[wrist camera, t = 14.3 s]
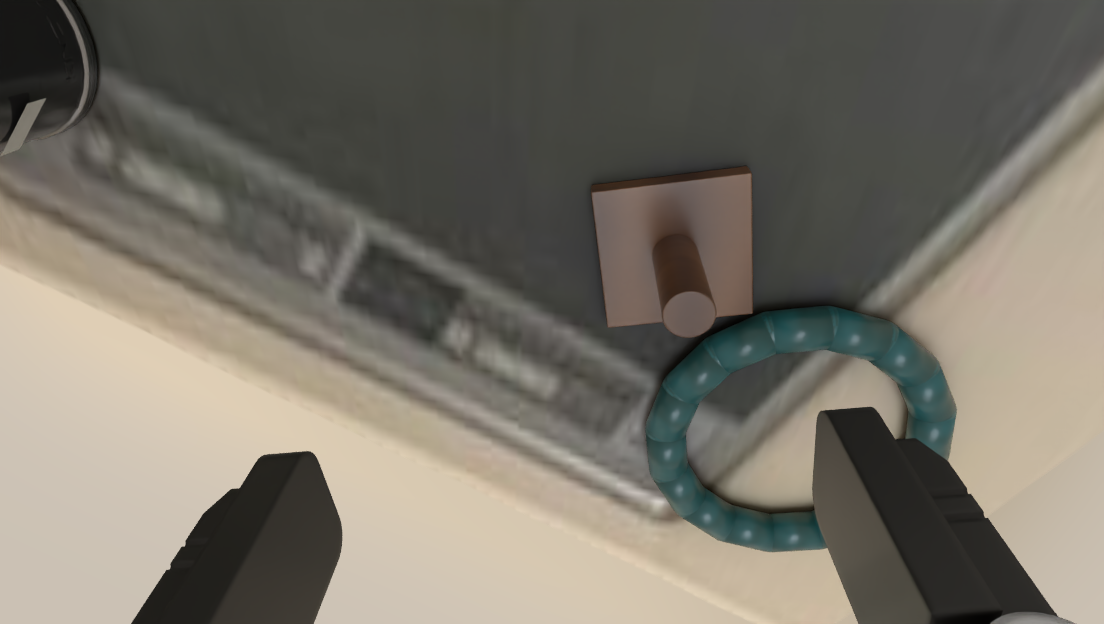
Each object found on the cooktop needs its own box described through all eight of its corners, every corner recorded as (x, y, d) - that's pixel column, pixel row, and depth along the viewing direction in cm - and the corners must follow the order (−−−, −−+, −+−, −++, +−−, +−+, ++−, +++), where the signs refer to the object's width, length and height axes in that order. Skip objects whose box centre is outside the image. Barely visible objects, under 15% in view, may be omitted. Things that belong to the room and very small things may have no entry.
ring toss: (607, 317, 39) (609, 396, 33) (591, 184, 36) (589, 242, 29) (749, 303, 38) (781, 381, 32) (747, 165, 35) (783, 220, 28)
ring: (656, 538, 48) (659, 566, 46) (633, 316, 39) (635, 337, 37) (925, 522, 45) (941, 551, 43) (962, 284, 37) (984, 305, 35)
